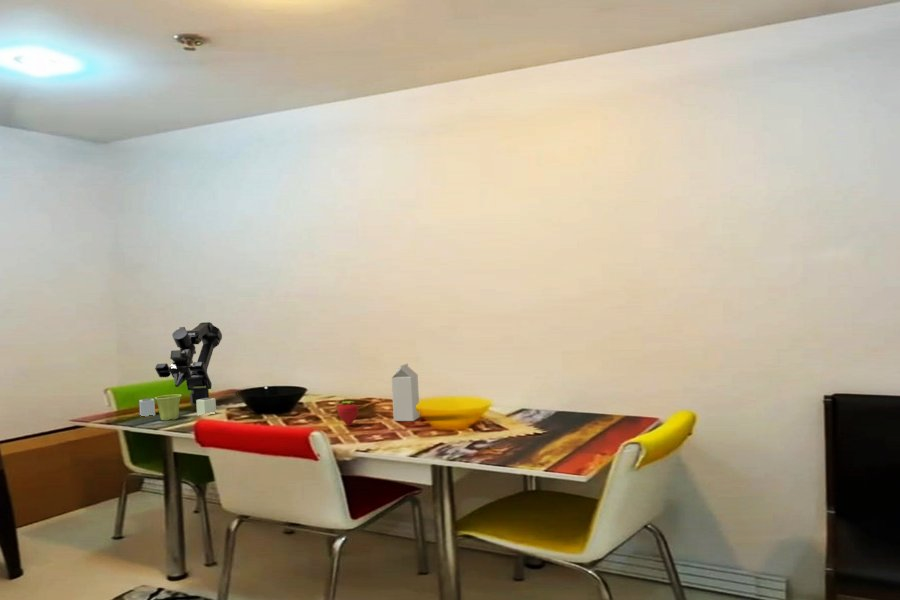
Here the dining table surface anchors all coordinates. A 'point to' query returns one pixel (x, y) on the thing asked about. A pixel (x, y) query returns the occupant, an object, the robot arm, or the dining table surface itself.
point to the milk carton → (405, 394)
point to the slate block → (147, 407)
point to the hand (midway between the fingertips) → (176, 386)
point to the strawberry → (348, 412)
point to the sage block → (205, 406)
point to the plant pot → (168, 406)
